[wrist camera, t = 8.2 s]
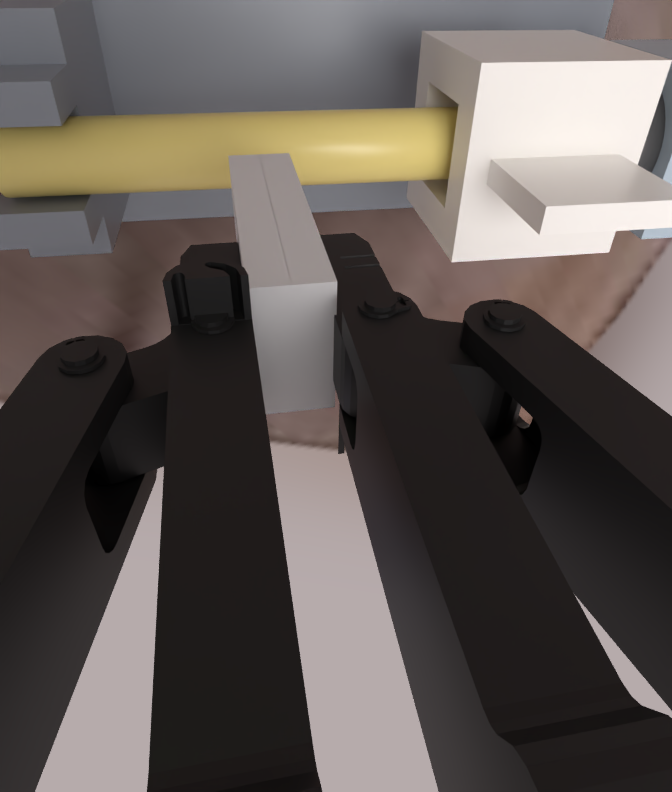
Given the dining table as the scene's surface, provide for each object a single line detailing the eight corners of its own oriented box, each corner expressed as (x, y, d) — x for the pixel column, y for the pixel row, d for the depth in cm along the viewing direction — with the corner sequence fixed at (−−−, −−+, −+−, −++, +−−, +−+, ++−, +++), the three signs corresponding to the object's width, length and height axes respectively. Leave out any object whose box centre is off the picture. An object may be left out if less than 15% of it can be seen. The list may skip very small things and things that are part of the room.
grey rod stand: (66, 216, 29) (2, 349, 20) (-13, -63, 22) (-163, -50, 13) (553, 193, 33) (683, 298, 24) (615, -54, 26) (831, -39, 17)
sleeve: (406, 197, 25) (493, 321, 18) (422, 30, 22) (542, 95, 14) (536, 192, 26) (674, 307, 18) (574, 30, 22) (769, 90, 15)
